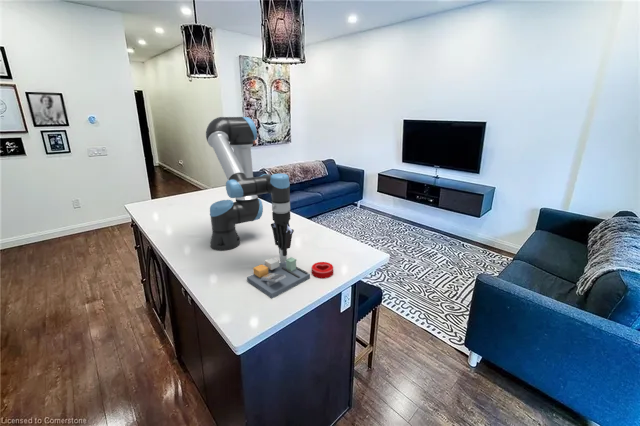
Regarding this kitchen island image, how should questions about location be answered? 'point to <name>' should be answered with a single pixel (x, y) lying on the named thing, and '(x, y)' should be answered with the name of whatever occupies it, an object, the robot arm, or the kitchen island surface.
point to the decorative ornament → (322, 270)
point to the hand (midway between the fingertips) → (283, 261)
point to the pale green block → (291, 264)
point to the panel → (281, 285)
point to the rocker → (273, 277)
